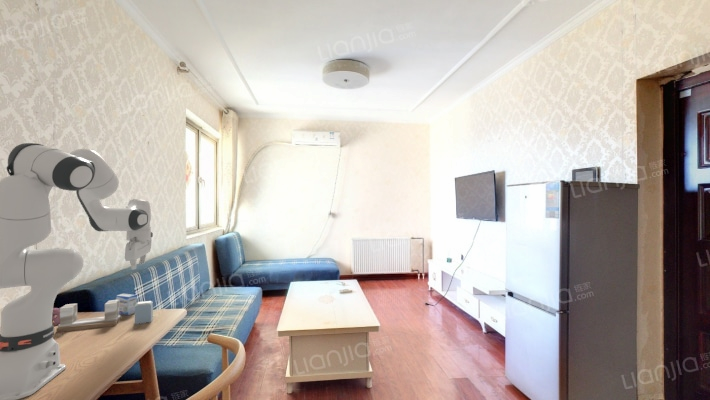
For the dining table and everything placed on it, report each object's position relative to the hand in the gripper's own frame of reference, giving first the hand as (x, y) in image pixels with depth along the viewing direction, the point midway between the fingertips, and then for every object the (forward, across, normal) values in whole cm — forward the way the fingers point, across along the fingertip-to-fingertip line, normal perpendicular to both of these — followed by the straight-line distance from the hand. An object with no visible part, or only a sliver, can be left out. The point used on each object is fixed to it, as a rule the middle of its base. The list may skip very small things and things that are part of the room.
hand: (138, 266), depth 139 cm
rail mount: (+25, +1, +18) cm, 31 cm away
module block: (+25, 0, -2) cm, 25 cm away
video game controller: (+26, +8, +35) cm, 44 cm away
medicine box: (+26, +14, +9) cm, 31 cm away
